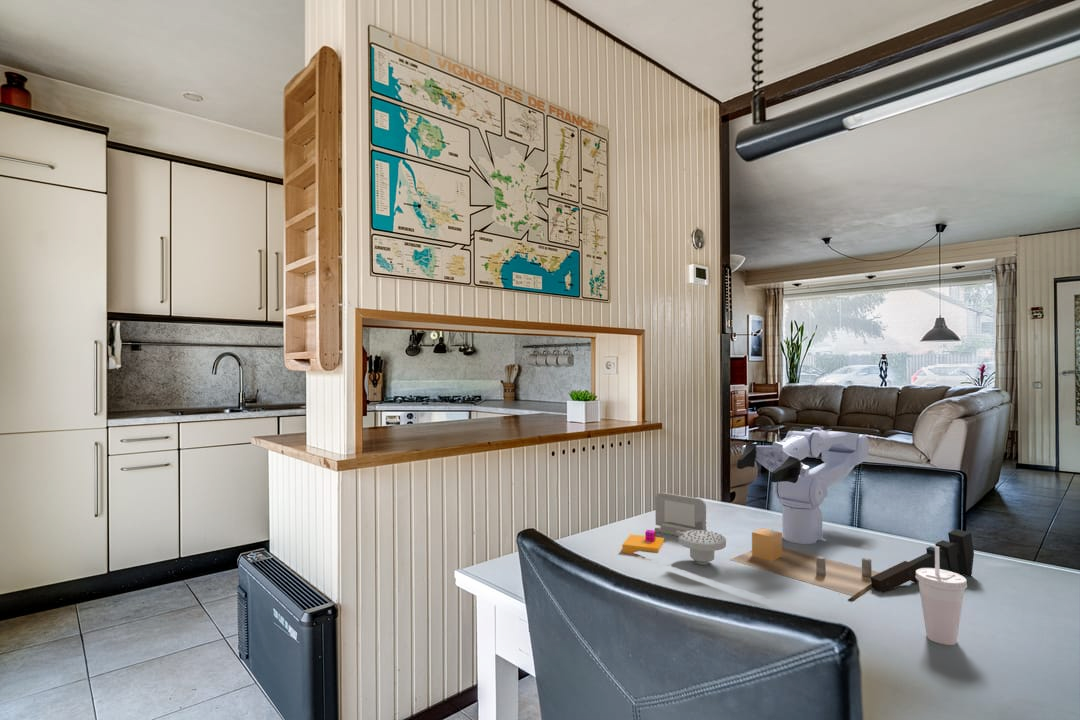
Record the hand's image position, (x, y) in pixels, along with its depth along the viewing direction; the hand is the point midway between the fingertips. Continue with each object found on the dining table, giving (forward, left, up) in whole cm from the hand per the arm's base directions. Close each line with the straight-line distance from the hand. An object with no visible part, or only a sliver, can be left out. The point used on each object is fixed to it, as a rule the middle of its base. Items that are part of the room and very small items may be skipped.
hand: (755, 470), depth 117 cm
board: (-3, +9, -19) cm, 22 cm away
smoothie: (+9, +35, -20) cm, 41 cm away
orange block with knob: (+11, -21, -20) cm, 31 cm away
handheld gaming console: (-7, -22, -20) cm, 31 cm away
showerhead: (+11, -6, -20) cm, 23 cm away
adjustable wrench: (-15, +26, -20) cm, 36 cm away
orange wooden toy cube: (-3, +1, -18) cm, 19 cm away
